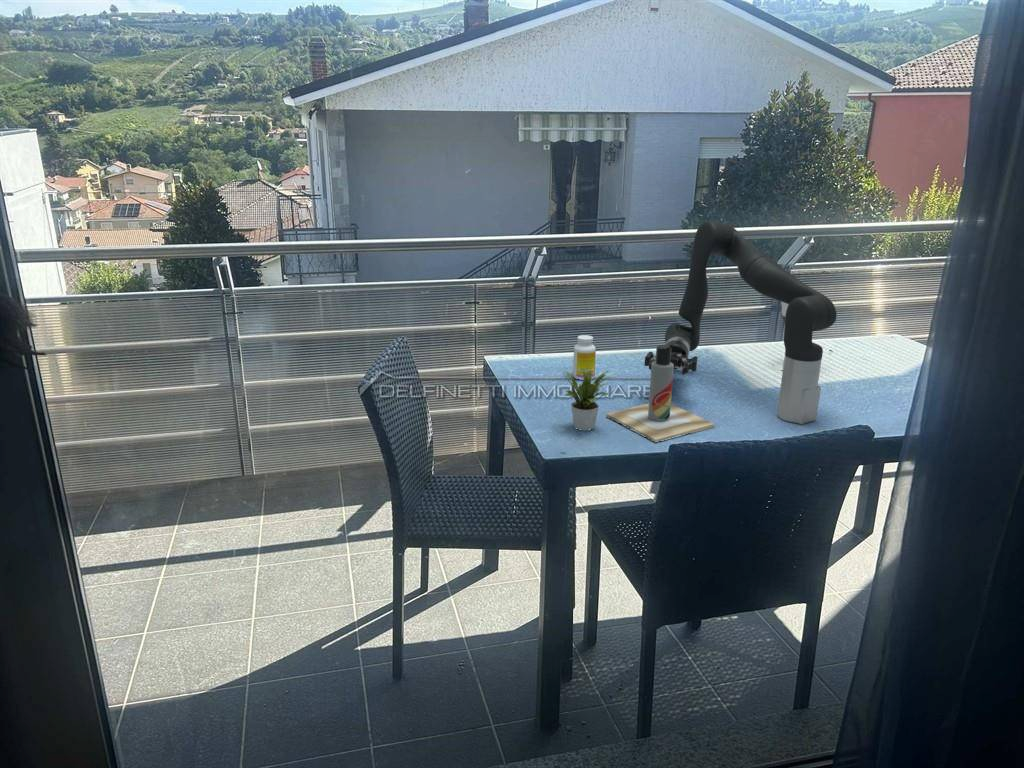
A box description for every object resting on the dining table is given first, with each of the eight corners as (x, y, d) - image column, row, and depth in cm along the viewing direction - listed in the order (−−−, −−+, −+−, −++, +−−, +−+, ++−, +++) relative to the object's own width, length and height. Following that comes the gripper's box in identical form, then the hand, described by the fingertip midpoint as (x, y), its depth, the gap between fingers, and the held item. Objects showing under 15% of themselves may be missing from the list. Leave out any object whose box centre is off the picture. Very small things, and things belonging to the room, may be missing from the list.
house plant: (623, 436, 200) (627, 375, 194) (572, 442, 196) (574, 380, 190) (602, 416, 212) (604, 358, 207) (553, 421, 209) (555, 362, 203)
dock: (714, 427, 206) (714, 423, 205) (655, 443, 196) (656, 439, 195) (662, 403, 222) (662, 399, 221) (605, 417, 212) (606, 413, 211)
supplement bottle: (598, 379, 240) (600, 339, 236) (579, 382, 238) (580, 341, 233) (588, 372, 246) (589, 333, 242) (569, 375, 244) (570, 335, 239)
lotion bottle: (669, 422, 205) (675, 349, 199) (647, 421, 206) (652, 348, 200) (669, 414, 211) (675, 343, 204) (648, 413, 212) (653, 341, 205)
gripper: (651, 337, 229) (642, 353, 215) (701, 342, 225) (695, 359, 210) (650, 362, 232) (640, 379, 217) (699, 367, 227) (693, 385, 213)
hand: (667, 369), depth 214 cm, fingers open, 8 cm apart
